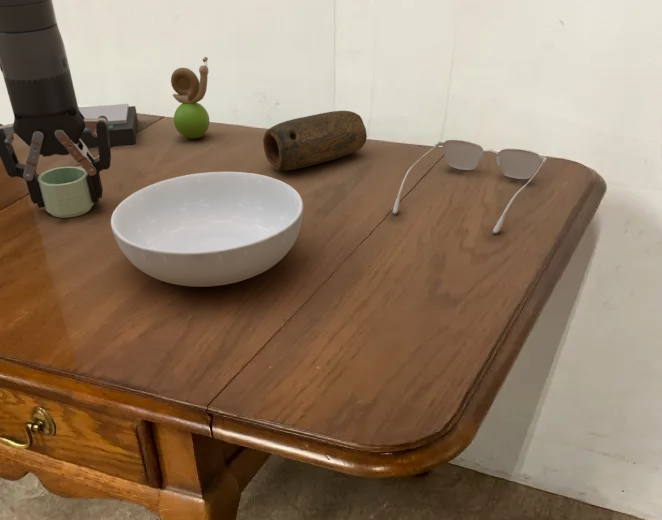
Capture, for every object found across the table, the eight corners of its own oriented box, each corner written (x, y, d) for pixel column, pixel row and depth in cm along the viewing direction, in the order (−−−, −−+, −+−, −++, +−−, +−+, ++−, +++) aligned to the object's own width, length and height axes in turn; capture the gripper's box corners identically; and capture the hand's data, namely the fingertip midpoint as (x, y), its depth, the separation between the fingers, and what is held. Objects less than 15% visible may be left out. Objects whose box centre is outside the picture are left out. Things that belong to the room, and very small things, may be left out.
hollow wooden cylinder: (290, 183, 106) (287, 134, 102) (261, 168, 110) (257, 121, 106) (371, 155, 113) (372, 108, 109) (341, 143, 117) (340, 97, 113)
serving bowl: (192, 211, 99) (185, 159, 95) (337, 243, 91) (336, 188, 87) (82, 285, 85) (67, 227, 81) (242, 330, 77) (235, 269, 73)
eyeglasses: (544, 182, 104) (548, 153, 102) (503, 237, 92) (507, 205, 89) (437, 164, 110) (438, 136, 107) (385, 214, 97) (386, 183, 95)
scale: (49, 150, 118) (44, 131, 116) (57, 126, 126) (53, 108, 124) (135, 143, 119) (131, 124, 117) (137, 120, 128) (134, 102, 126)
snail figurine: (210, 145, 118) (200, 62, 110) (171, 142, 119) (158, 60, 112) (222, 133, 122) (213, 52, 115) (184, 130, 123) (173, 50, 116)
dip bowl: (43, 221, 98) (34, 187, 95) (49, 201, 103) (40, 168, 100) (93, 216, 99) (85, 183, 96) (96, 197, 104) (89, 164, 101)
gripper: (100, 55, 94) (126, 186, 104) (-22, 63, 92) (17, 196, 103) (95, 72, 88) (123, 210, 98) (-35, 81, 86) (7, 220, 97)
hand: (69, 202), depth 100 cm, fingers closed on dip bowl, 6 cm apart
